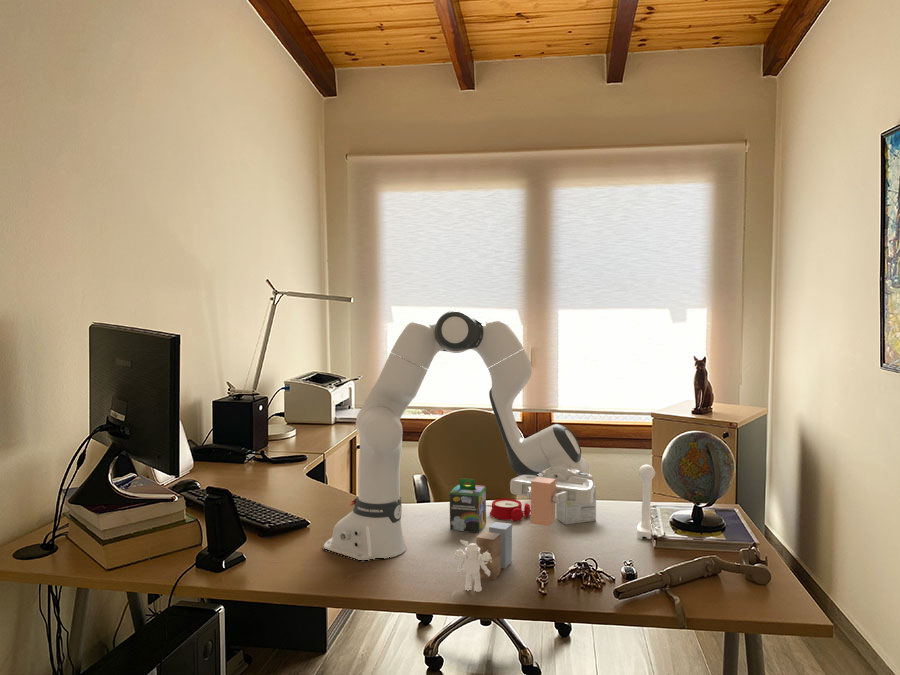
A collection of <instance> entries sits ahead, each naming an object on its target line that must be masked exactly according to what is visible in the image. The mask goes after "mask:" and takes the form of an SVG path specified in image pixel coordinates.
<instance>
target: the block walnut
mask: <svg viewBox="0 0 900 675" xmlns="http://www.w3.org/2000/svg"><path fill="white" fill-rule="evenodd" d="M475 544H477V545H478V546H477V547H479V548H480V554H482V555H483V553H485V552H488V553H490V554H491V557H492V559H491V560H489V561H484V562H488V563H487V564H485V565H486V566H487V568H488V570H489V571H490V576H489V577H488V575H487V574H485V572H484V570H483V569H482V568H481V566H480V570H479V572H480V579H483V578H484V579H483V580H490V581H494V580H495V579H497V577H498V576H499V575H500V574H501V568H500V534H497V533H491V532H489V531H485V530H484V531H482V532H481V533H478V535H476V537H475ZM487 550H488V551H487ZM490 561H492V563H491V562H490Z"/></svg>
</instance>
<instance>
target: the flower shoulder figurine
mask: <svg viewBox="0 0 900 675" xmlns="http://www.w3.org/2000/svg"><path fill="white" fill-rule="evenodd" d="M459 542H460V543H461V544H462V545H464V547H465V546H466V547H465V551H464V550H463V549H462V548H460V547H459V549H456V550H455V553H454V554H453V556H454V559H455V560H456V561H457V562H458V563H457V564H458V565H457V568H456V572H457V573H458V574H459V573H461V572H462V570H464V571H465V583H464V584H465V585H464V591H466V590H467V592H470V591H469V590H471V591H472V589H473V591H474V592H475V591H476V592H477V593H480V592H481V591H482V590H483V587H482V583H481V578H480V572H479V570H480V566H481V568H482V569H483V570H484V572H485V574H487V575H488V577H489V576H490V571H489V570H488V568H487V566H486V565H485V564H487V563H488V562H484V561H489V560H491V559H492V557H491V554H490V553H488V552H485V553H483V555H482V554H480V548H479V547H477V546H478V545H477V544H476V542H475V543H473V542H471V543H469V541H467V540H463V539H460V540H459ZM487 551H488V550H487ZM490 562H491V563H492V561H490ZM472 579H473V580H474V585H473V586H474V587H472V583H473V582H472V581H473V580H472Z"/></svg>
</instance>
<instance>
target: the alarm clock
mask: <svg viewBox="0 0 900 675" xmlns="http://www.w3.org/2000/svg"><path fill="white" fill-rule="evenodd" d="M522 505H523V504H522V502H521V501H520V500H518V499H514V498H497V499H494V500H493V501H492V502H491V505H489V504H488V505H487V504H486V507H491V509H490V512H489V515H490V516H491V518H493V519H496V520H500V521H501V520H503V521H513V522H515V523H518V522H520V521H522V520H523V517H524V518H528V517H531V504H529V503H527V502H526V503H525V504H524V509H522V508H523V507H522Z"/></svg>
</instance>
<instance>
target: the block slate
mask: <svg viewBox="0 0 900 675" xmlns="http://www.w3.org/2000/svg"><path fill="white" fill-rule="evenodd" d="M488 532H491V533H497V534H500V567H501V568H500V569H507V568H508V566H510V565H511V564H512V561H513V557H512V556H513V554H512V553H513V552H512V551H513V543H512V542H513V524H512V523H508V522H507V523H506V522H499V521H495V522H493V523H492V524H491V525H489V527H488Z"/></svg>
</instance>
